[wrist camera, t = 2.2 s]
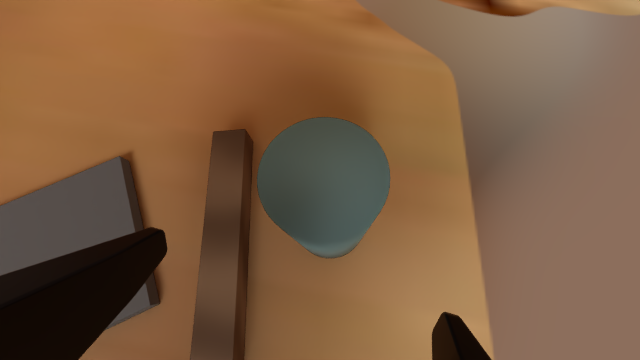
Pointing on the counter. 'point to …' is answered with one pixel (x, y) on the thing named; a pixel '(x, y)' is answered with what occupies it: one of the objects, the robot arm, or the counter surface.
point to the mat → (75, 223)
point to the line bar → (224, 251)
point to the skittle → (324, 184)
